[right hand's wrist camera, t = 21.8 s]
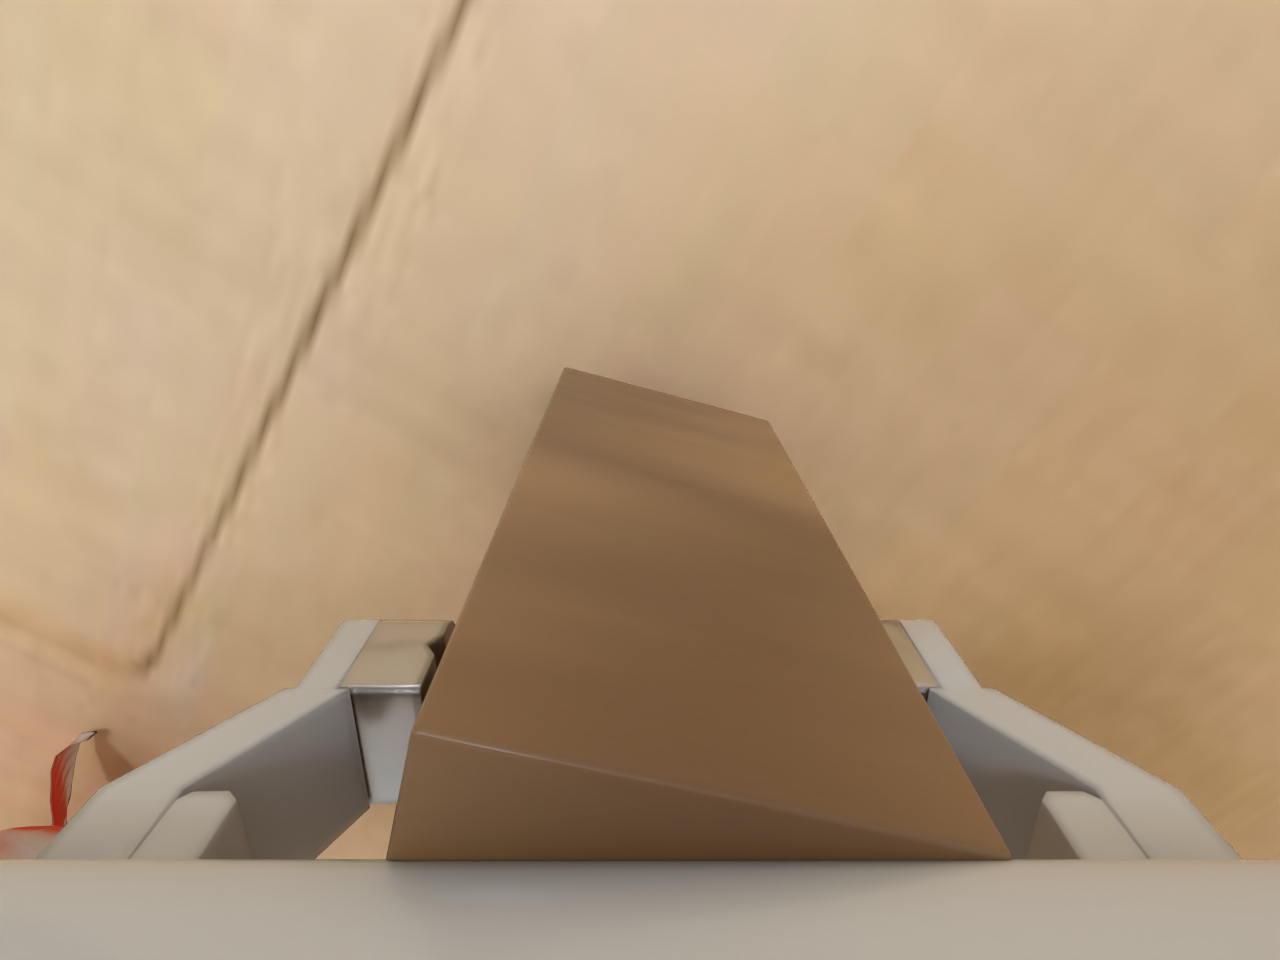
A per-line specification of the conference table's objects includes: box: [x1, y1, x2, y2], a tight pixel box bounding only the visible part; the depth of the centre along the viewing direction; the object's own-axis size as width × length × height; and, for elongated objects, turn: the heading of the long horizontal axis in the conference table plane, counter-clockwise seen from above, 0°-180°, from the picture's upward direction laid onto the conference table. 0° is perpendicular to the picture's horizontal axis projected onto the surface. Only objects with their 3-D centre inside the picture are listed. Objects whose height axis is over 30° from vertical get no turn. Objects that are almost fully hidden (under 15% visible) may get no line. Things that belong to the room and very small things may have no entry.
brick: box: [386, 368, 1011, 861], centre depth 11 cm, size 4×5×11 cm
